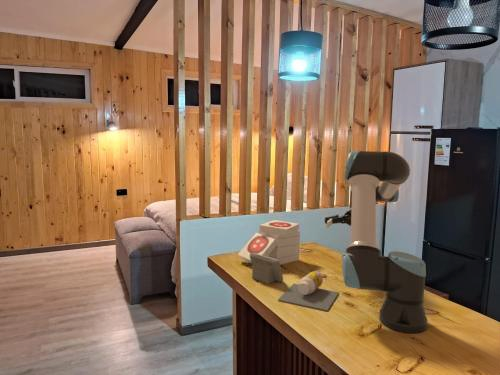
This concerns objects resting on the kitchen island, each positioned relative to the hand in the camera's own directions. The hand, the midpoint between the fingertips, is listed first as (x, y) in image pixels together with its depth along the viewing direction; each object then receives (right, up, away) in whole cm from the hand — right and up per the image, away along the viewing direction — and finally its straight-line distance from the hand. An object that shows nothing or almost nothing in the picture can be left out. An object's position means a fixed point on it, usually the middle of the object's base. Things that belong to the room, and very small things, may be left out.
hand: (343, 226), depth 158 cm
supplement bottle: (-12, -21, -3) cm, 25 cm away
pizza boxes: (-29, -21, +31) cm, 47 cm away
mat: (-16, -26, -12) cm, 33 cm away
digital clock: (-32, -24, +7) cm, 41 cm away
